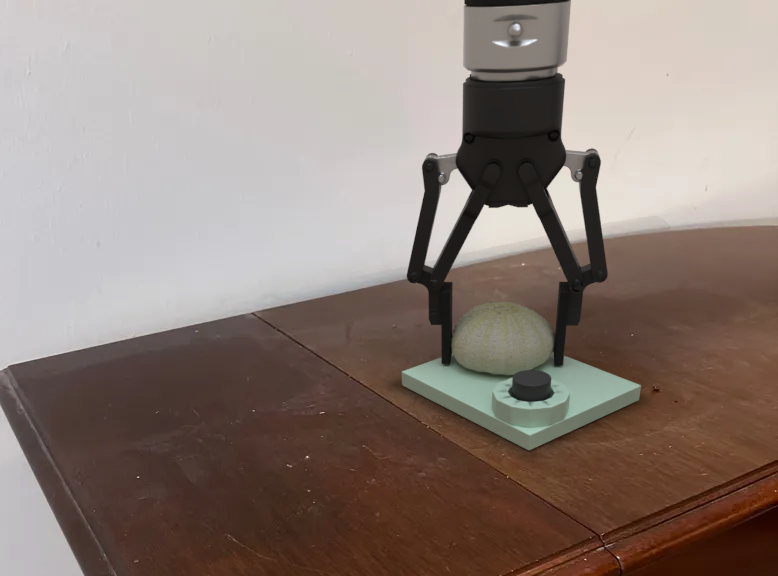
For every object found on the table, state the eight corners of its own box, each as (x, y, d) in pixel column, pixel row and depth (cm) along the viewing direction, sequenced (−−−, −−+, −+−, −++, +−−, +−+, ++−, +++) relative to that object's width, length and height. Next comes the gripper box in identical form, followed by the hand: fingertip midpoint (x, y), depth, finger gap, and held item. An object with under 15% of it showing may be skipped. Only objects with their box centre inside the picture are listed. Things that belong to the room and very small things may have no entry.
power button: (558, 395, 64) (559, 377, 63) (530, 407, 63) (532, 389, 62) (530, 384, 66) (531, 366, 65) (503, 395, 65) (504, 376, 64)
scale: (639, 400, 69) (644, 367, 67) (528, 451, 63) (531, 416, 61) (506, 346, 79) (508, 316, 78) (401, 385, 73) (400, 354, 72)
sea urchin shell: (530, 312, 77) (556, 270, 69) (546, 391, 76) (574, 357, 68) (436, 323, 76) (452, 282, 68) (451, 403, 75) (469, 370, 67)
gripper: (359, 85, 59) (375, 374, 72) (676, 72, 55) (632, 378, 68) (375, 72, 65) (387, 341, 78) (661, 60, 61) (623, 343, 74)
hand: (501, 358), depth 73 cm, fingers closed on sea urchin shell, 9 cm apart
